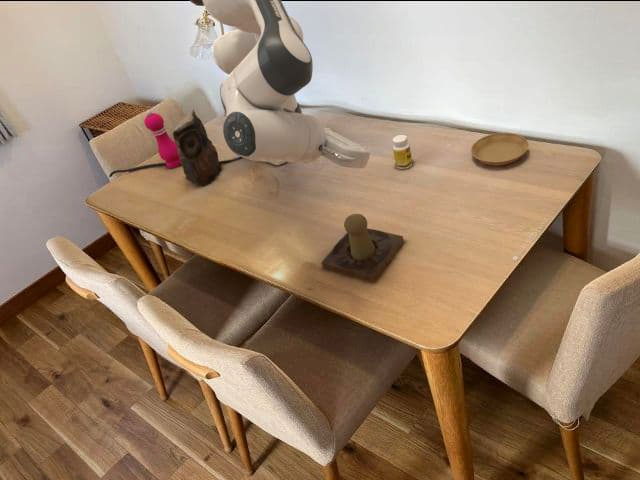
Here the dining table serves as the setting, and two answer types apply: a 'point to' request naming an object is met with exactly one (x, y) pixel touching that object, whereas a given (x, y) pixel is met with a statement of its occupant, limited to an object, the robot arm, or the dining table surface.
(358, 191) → the dining table surface
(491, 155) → the plant saucer
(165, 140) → the pepper mill
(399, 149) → the supplement bottle
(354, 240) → the pepper shaker
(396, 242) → the holder
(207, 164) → the owl
